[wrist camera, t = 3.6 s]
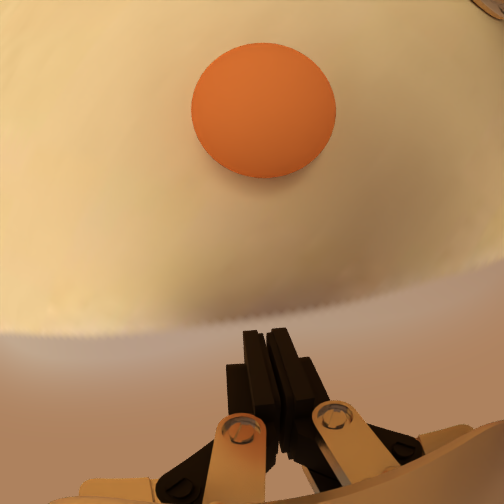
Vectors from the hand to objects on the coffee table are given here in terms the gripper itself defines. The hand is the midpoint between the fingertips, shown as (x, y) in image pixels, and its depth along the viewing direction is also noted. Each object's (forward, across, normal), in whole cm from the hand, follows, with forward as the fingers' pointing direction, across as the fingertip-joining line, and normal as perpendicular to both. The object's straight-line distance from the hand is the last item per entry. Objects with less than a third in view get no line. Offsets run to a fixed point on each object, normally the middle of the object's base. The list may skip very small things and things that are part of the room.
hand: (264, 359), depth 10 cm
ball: (+2, 0, -10) cm, 10 cm away
